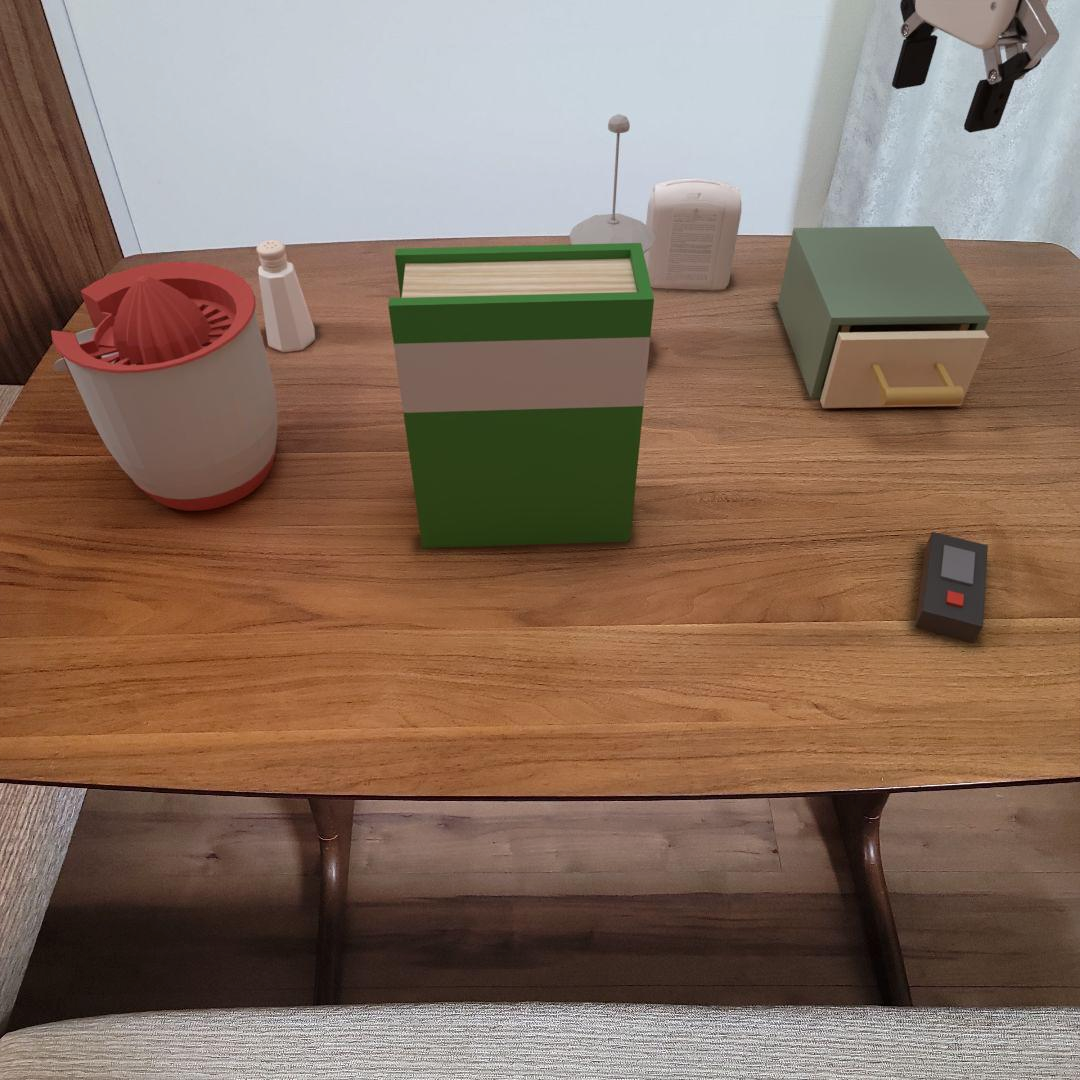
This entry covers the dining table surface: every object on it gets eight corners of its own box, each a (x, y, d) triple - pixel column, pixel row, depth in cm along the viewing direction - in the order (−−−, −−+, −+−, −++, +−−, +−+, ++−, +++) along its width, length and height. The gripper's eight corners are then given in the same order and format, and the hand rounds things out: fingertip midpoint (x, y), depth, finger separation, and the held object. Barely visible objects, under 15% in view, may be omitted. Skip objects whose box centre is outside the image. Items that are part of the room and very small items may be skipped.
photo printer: (727, 275, 109) (744, 172, 100) (730, 295, 106) (747, 191, 97) (640, 272, 110) (648, 170, 101) (640, 292, 107) (649, 188, 98)
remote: (922, 552, 78) (933, 528, 76) (977, 566, 77) (989, 542, 75) (912, 631, 73) (923, 607, 71) (971, 647, 72) (984, 624, 69)
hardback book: (422, 551, 79) (388, 305, 61) (426, 491, 84) (395, 248, 66) (629, 545, 79) (654, 299, 62) (620, 485, 84) (641, 242, 67)
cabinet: (956, 399, 93) (990, 315, 86) (809, 401, 93) (831, 317, 85) (907, 307, 104) (933, 225, 97) (776, 308, 104) (793, 227, 97)
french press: (630, 323, 102) (649, 87, 84) (673, 383, 95) (704, 139, 76) (546, 339, 100) (547, 100, 82) (583, 403, 92) (593, 155, 74)
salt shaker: (325, 342, 100) (306, 248, 92) (278, 359, 98) (255, 265, 90) (304, 319, 103) (284, 226, 95) (258, 334, 101) (234, 241, 93)
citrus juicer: (139, 413, 92) (62, 224, 77) (312, 419, 91) (268, 229, 76) (75, 526, 81) (-27, 331, 66) (271, 534, 80) (211, 338, 66)
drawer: (980, 442, 87) (1011, 373, 81) (836, 444, 87) (856, 375, 81) (913, 316, 101) (935, 250, 96) (789, 318, 101) (804, 252, 95)
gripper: (1150, -112, 63) (1048, 140, 75) (979, -161, 74) (915, 66, 86) (1063, -102, 61) (973, 154, 74) (901, -154, 72) (847, 77, 85)
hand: (942, 106), depth 80 cm, fingers open, 9 cm apart
